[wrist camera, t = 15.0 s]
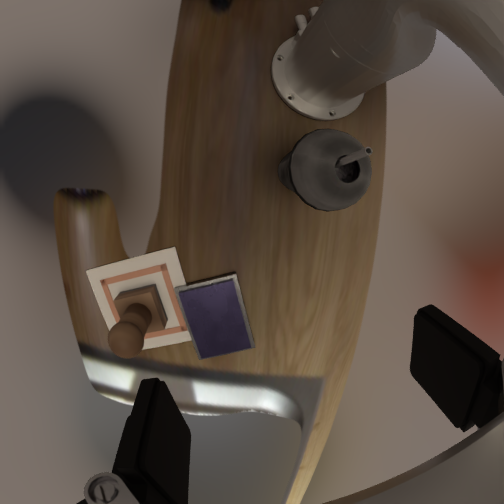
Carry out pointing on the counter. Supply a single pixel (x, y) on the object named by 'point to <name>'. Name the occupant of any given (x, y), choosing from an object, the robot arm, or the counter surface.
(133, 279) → the print card
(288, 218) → the counter surface
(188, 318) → the ink pad
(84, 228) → the counter surface
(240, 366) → the counter surface
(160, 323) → the stamp
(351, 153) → the beverage cup
